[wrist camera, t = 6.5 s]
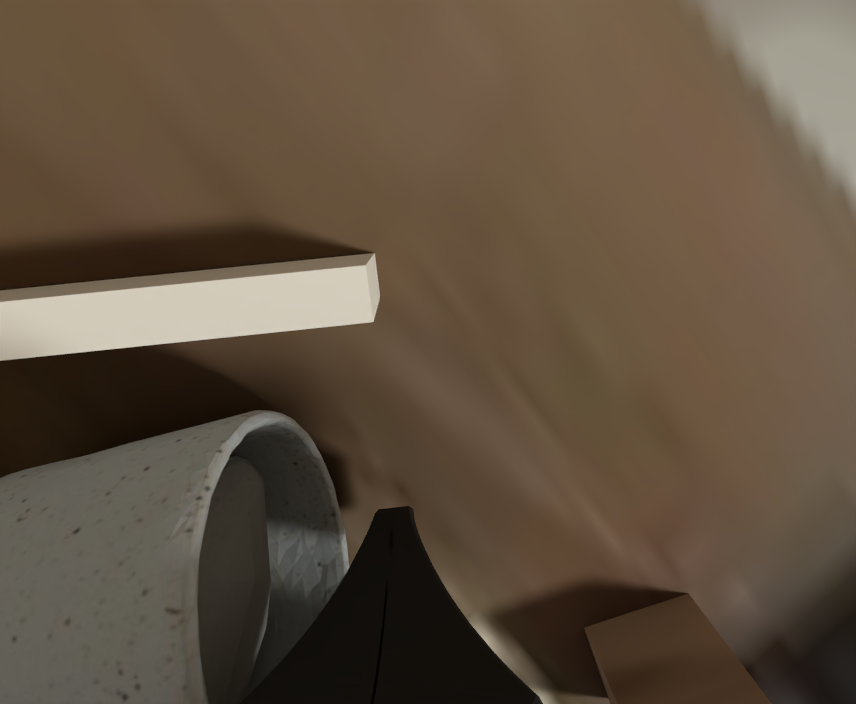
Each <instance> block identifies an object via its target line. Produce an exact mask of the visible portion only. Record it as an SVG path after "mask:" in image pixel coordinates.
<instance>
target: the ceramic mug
mask: <svg viewBox="0 0 856 704" xmlns="http://www.w3.org/2000/svg"><path fill="white" fill-rule="evenodd" d="M348 569H349V562H348V550H347V542H346V535H345V528H344V523H343V520H342V516H341V513H340V509H339V505H338V502H337V498H336V493H335V489H334V485H333V482H332V480H331V477H330V475H329V472H328V470H327V467H326V465H325V463H324V461H323V458H322V455H321V454H320V452H319V451H318V449H317V448H316V445H315V443H314V442H313V440H312V439H311V437H310V435H309V434H308V433H307V432H306V431H305V430H304V429H303V428H302V427H301V426H300V425H299V424H298V423H297V422H296V421H295V420H294V419H292V418H290V417H288V416H286V415H285V414H283V413H279V412H275V411H266V410H255V411H251V412H248V413H244V414H240V415H236V416H232V417H228V418H225V419H221V420H217V421H213V422H209V423H205V424H202V425H198V426H194V427H190V428H186V429H182V430H178V431H174V432H170V433H166V434H162V435H159V436H155V437H151V438H147V439H143V440H139V441H135V442H132V443H128V444H124V445H121V446H117V447H114V448H110V449H107V450H103V451H100V452H96V453H93V454H89V455H85V456H81V457H76V458H72V459H67V460H63V461H59V462H54V463H50V464H46V465H42V466H37V467H33V468H29V469H25V470H22V471H19V472H15V473H12V474H9V475H6V476H4V477H2V478H0V704H239V703H240V702H241V701H243V700H244V699H245V698H246V697H247V696H248V695H249V694H250V693H251V692H252V691H253V690H254V689H255V688H256V687H257V686H258V685H259V684H260V683H261V682H262V680H263V679H264V678H265V677H266V676H267V675H268V674H269V673H270V672H271V671H272V670H273V669H274V668H275V667H276V666H277V665H278V664H279V663H280V662H281V661H282V659H283V658H284V657H285V656H286V655H287V654H288V653H289V651H290V650H291V649H292V648H293V647H294V646H295V644H296V643H297V642H298V641H299V639H300V638H301V637H302V636H303V635H304V633H305V632H306V631H307V630H308V628H309V627H310V626H311V625H312V623H313V622H314V621H315V619H316V618H317V616H318V615H319V614H320V612H321V611H322V610H323V608H324V607H325V605H326V604H327V603H328V601H329V600H330V598H331V597H332V595H333V594H334V592H335V590H336V589H337V587H338V586H339V584H340V582H341V581H342V579H343V577H344V576H345V574H346V572H347V571H348Z"/></svg>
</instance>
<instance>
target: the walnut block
mask: <svg viewBox="0 0 856 704" xmlns="http://www.w3.org/2000/svg"><path fill="white" fill-rule="evenodd" d="M584 629H585V632H586V635H587V638H588V641H589V643H590V646H591V649H592V652H593V655H594V658H595V661H596V664H597V667H598V669H599V672H600V675H601V678H602V681H603V684H604V687H605V690H606V693H607V695H608V698H609V701H610V703H611V704H771V702H770V701H769V700H768V699H767V697H766V696H765V695H764V693H763V692H762V691H761V689H760V688H759V687H758V685H757V684H756V683H755V681H754V680H753V679H752V677H751V676H750V675H749V673H748V672H747V671H746V669H745V668H744V667H743V665H742V664H741V663H740V661H739V660H738V659H737V657H736V656H735V655H734V653H733V652H732V651H731V649H730V648H729V647H728V645H727V644H726V643H725V642H724V640H723V639H722V638H721V636H720V635H719V634H718V632H717V631H716V630H715V628H714V627H713V626H712V624H711V623H710V622H709V620H708V619H707V618H706V616H705V615H704V614H703V612H702V611H701V610H700V608H699V607H698V606H697V604H696V603H695V602H694V600H693V599H692V598H691V596H690V595H689V594H685V595H682V596H679V597H676V598H673V599H670V600H667V601H664V602H661V603H658V604H655V605H651V606H648V607H645V608H642V609H639V610H636V611H633V612H630V613H627V614H624V615H621V616H618V617H615V618H612V619H609V620H606V621H603V622H600V623H597V624H594V625H591V626H588V627H585V628H584Z"/></svg>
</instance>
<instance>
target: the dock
mask: <svg viewBox="0 0 856 704" xmlns="http://www.w3.org/2000/svg"><path fill="white" fill-rule="evenodd" d="M379 299H380V292H379V284H378V276H377V268H376V260H375V253H369V254H359V255H349V256H339V257H329V258H319V259H309V260H299V261H289V262H279V263H270V264H260V265H250V266H240V267H230V268H220V269H210V270H200V271H190V272H180V273H170V274H160V275H150V276H140V277H130V278H120V279H110V280H100V281H90V282H80V283H70V284H60V285H50V286H40V287H30V288H20V289H10V290H0V361H3V360H13V359H22V358H32V357H41V356H51V355H61V354H70V353H80V352H90V351H99V350H109V349H119V348H128V347H138V346H147V345H157V344H167V343H176V342H186V341H196V340H205V339H215V338H224V337H234V336H244V335H253V334H263V333H273V332H282V331H292V330H301V329H311V328H321V327H330V326H340V325H350V324H359V323H369V322H373V321H374V318H375V314H376V310H377V307H378V303H379Z"/></svg>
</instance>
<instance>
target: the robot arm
mask: <svg viewBox="0 0 856 704" xmlns="http://www.w3.org/2000/svg"><path fill="white" fill-rule="evenodd" d="M239 704H543V703H542V701H541V700H540V698H539V696H538V695H537V694H536V693H534V692H533V691H532V690H531V689H530V688H529V687H528V686H527V685H526V684H525V683H524V682H523V681H522V680H520V679H519V678H518V677H517V676H516V675H515V674H514V673H513V672H512V671H511V670H510V669H509V668H508V667H507V666H506V664H505V663H504V662H503V661H502V660H501V659H500V658H499V657H498V656H497V655H496V654H495V653H494V652H493V651H492V649H491V648H490V647H489V646H488V645H487V643H486V642H485V641H484V640H483V639H482V637H481V636H480V635H479V634H478V633H477V632H476V630H475V629H474V628H473V627H472V626H471V624H470V623H469V622H468V620H467V619H466V617H465V616H464V615H463V613H462V612H461V611H460V609H459V608H458V606H457V605H456V603H455V602H454V600H453V599H452V598H451V596H450V594H449V593H448V591H447V590H446V588H445V586H444V585H443V583H442V581H441V580H440V578H439V576H438V574H437V572H436V571H435V569H434V567H433V565H432V563H431V561H430V559H429V557H428V555H427V552H426V550H425V548H424V546H423V544H422V541H421V539H420V536H419V533H418V530H417V527H416V524H415V520H414V512H413V509H412V508H411V507H409V506H405V507H397V508H388V509H379V510H378V511H377V512H376V513H375V515H374V518H373V521H372V523H371V526H370V528H369V530H368V532H367V535H366V537H365V539H364V541H363V543H362V545H361V547H360V549H359V551H358V553H357V554H356V556H355V558H354V560H353V562H352V564H351V566H350V567H349V569H348V571H347V572H346V574H345V576H344V577H343V579H342V581H341V582H340V584H339V586H338V587H337V589H336V590H335V592H334V594H333V595H332V597H331V598H330V600H329V601H328V603H327V604H326V605H325V607H324V608H323V610H322V611H321V612H320V614H319V615H318V616H317V618H316V619H315V621H314V622H313V623H312V625H311V626H310V627H309V628H308V630H307V631H306V632H305V633H304V635H303V636H302V637H301V638H300V639H299V641H298V642H297V643H296V644H295V646H294V647H293V648H292V649H291V650H290V651H289V653H288V654H287V655H286V656H285V657H284V658H283V659H282V661H281V662H280V663H279V664H278V665H277V666H276V667H275V668H274V669H273V670H272V671H271V672H270V673H269V674H268V675H267V676H266V677H265V678H264V679H263V680H262V682H261V683H260V684H259V685H258V686H257V687H256V688H255V689H254V690H253V691H252V692H251V693H250V694H249V695H248V696H247V697H246V698H245V699H244V700H243V701H241V702H240V703H239Z"/></svg>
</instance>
